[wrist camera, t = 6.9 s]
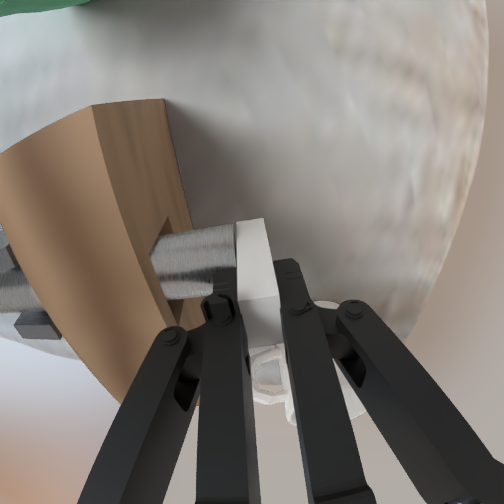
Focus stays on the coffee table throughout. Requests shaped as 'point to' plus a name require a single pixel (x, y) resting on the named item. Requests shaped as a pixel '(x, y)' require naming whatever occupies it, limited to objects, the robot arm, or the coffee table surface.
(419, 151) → the coffee table surface
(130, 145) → the beam
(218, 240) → the axle
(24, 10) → the mug
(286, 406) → the mug
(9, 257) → the cradle
